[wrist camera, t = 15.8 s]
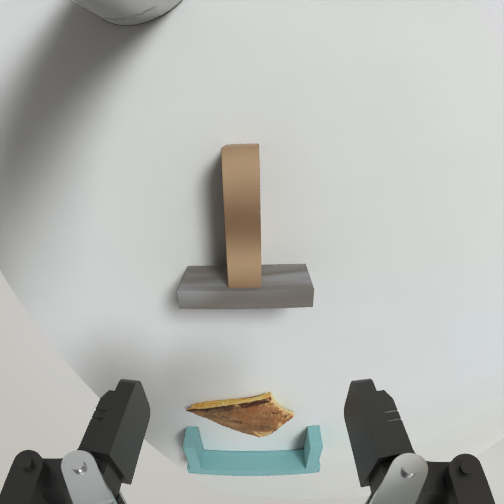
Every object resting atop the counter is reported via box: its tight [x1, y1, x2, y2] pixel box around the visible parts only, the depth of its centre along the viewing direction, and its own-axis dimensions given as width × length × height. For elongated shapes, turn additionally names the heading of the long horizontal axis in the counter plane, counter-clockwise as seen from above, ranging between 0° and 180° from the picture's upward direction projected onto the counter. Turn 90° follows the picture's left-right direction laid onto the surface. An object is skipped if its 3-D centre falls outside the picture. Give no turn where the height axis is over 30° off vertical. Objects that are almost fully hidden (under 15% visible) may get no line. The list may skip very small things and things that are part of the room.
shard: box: [186, 392, 294, 437], centre depth 33 cm, size 11×8×2 cm
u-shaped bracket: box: [183, 426, 323, 476], centre depth 35 cm, size 8×18×4 cm, turn 91°
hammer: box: [177, 144, 314, 309], centre depth 23 cm, size 12×10×4 cm
